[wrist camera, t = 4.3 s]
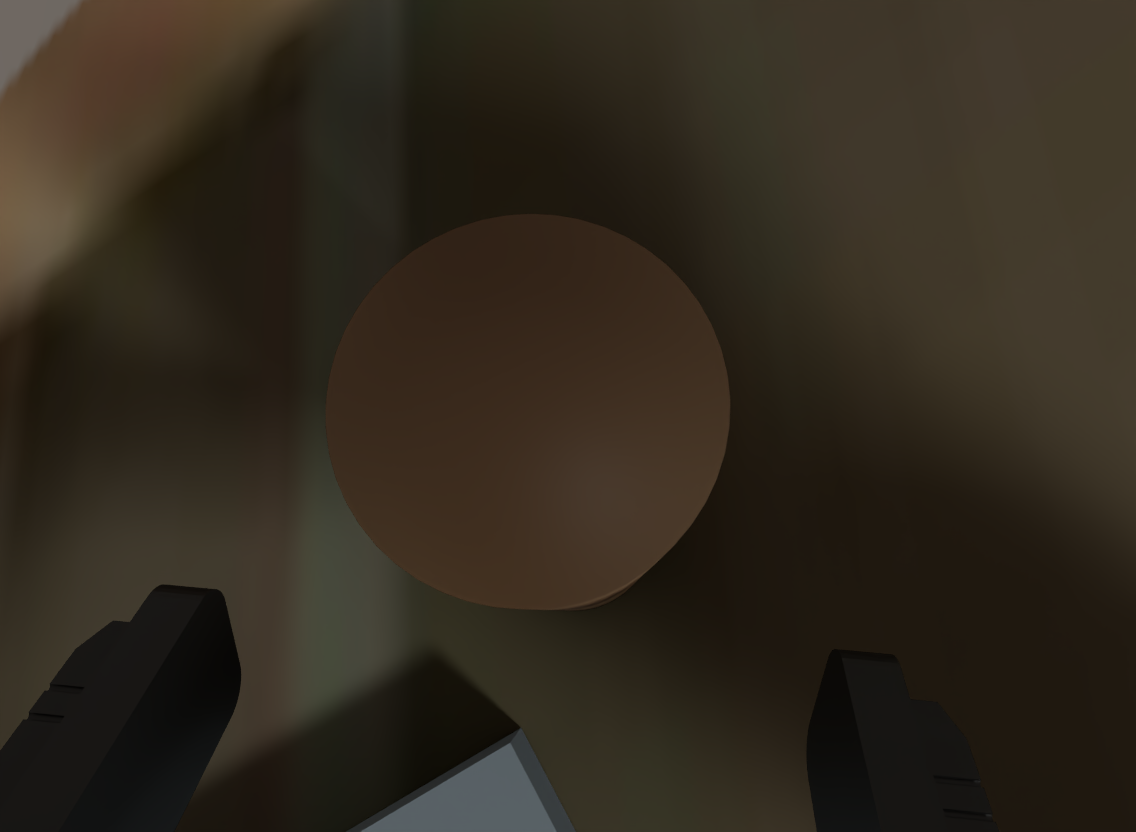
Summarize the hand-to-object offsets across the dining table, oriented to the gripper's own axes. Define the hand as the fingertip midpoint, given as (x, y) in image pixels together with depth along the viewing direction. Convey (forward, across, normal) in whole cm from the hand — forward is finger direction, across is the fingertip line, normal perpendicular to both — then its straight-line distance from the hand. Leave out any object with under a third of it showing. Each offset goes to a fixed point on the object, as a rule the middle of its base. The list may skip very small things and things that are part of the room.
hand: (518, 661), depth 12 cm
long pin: (+9, 0, +5) cm, 11 cm away
